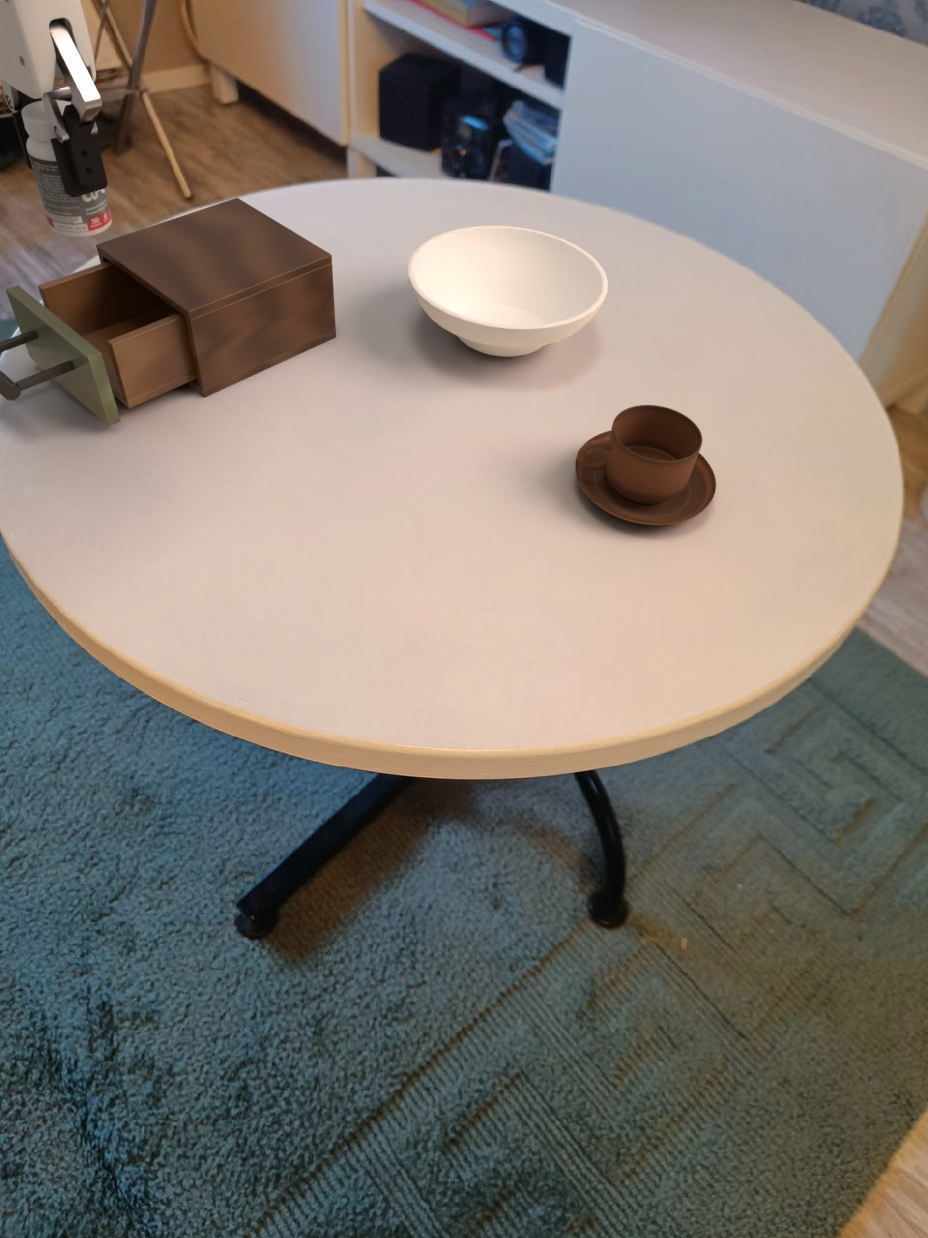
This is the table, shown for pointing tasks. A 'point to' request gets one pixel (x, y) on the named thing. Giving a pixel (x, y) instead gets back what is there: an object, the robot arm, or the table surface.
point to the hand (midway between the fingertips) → (67, 175)
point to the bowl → (506, 287)
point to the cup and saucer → (647, 467)
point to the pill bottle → (62, 210)
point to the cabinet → (233, 287)
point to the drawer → (100, 340)
